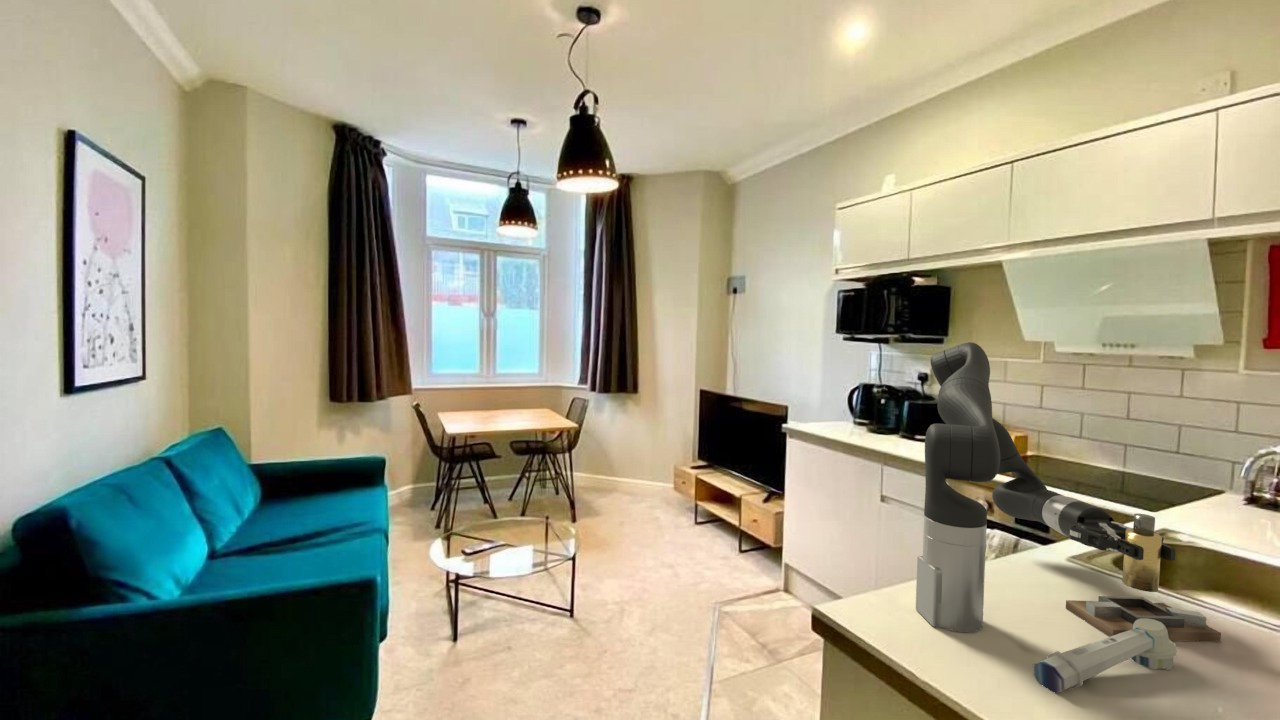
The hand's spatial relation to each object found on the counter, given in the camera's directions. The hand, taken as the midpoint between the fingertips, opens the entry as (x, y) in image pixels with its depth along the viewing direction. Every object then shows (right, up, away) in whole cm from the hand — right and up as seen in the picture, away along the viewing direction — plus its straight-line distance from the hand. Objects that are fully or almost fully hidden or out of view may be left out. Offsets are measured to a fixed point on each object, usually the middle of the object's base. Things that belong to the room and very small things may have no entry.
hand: (1156, 554), depth 90 cm
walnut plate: (0, -13, +3) cm, 13 cm away
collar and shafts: (0, -11, +3) cm, 12 cm away
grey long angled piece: (-18, -14, -11) cm, 25 cm away
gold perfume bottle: (0, -6, +3) cm, 7 cm away
